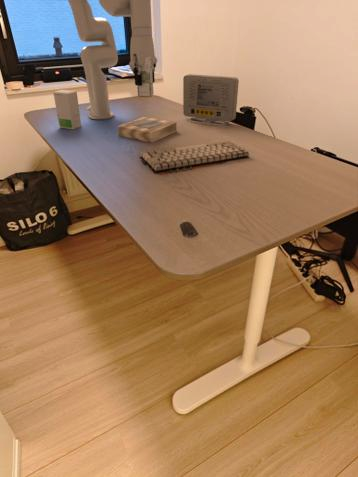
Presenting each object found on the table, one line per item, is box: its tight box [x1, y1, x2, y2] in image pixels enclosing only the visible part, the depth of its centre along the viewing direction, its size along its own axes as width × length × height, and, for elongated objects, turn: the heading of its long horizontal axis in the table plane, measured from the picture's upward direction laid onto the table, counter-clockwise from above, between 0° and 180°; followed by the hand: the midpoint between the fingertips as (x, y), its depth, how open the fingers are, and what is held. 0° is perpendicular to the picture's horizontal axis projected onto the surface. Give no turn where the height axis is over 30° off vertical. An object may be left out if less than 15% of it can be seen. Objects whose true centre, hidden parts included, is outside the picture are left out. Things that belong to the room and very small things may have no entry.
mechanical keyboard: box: [139, 140, 250, 176], centre depth 122 cm, size 38×19×3 cm, turn 114°
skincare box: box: [53, 89, 82, 130], centre depth 152 cm, size 8×7×16 cm
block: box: [179, 221, 199, 238], centre depth 82 cm, size 4×6×2 cm, turn 16°
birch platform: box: [117, 116, 177, 143], centre depth 146 cm, size 18×18×4 cm
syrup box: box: [136, 56, 154, 98], centre depth 134 cm, size 6×6×14 cm
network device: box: [182, 73, 240, 127], centre depth 156 cm, size 26×9×20 cm, turn 62°
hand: (145, 83), depth 136 cm, fingers closed on syrup box, 7 cm apart
